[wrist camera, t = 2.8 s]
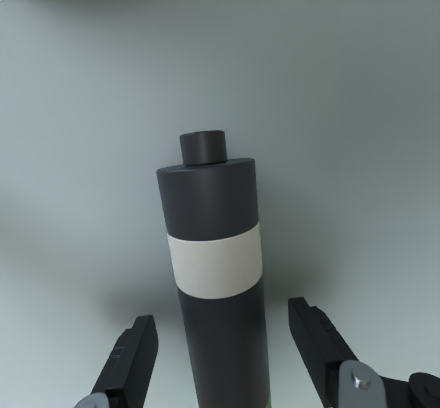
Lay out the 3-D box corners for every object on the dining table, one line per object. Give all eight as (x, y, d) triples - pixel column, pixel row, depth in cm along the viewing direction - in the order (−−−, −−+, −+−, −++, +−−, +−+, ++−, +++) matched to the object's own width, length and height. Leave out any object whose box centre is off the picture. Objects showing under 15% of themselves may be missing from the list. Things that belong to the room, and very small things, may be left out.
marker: (161, 141, 10) (134, 134, 6) (243, 132, 10) (266, 120, 7) (207, 412, 15) (207, 506, 11) (264, 403, 15) (285, 493, 11)
